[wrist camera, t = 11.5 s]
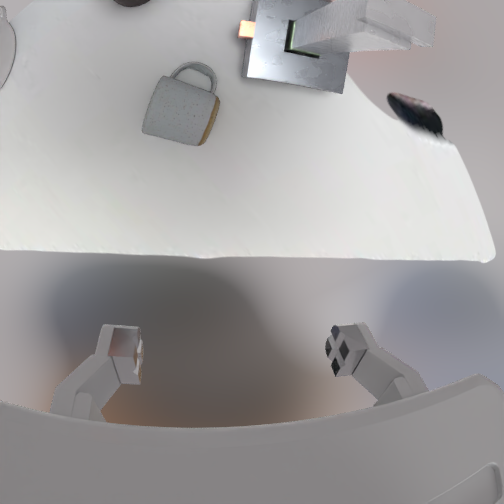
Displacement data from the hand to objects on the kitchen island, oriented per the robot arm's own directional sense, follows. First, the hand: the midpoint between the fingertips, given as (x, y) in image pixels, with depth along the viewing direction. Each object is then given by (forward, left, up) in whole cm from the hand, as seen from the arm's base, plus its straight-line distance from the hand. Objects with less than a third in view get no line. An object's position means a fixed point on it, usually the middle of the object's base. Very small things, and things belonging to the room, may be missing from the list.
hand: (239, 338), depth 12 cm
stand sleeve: (+4, +18, -34) cm, 39 cm away
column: (+4, +18, -29) cm, 35 cm away
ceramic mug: (-6, +5, -34) cm, 35 cm away
